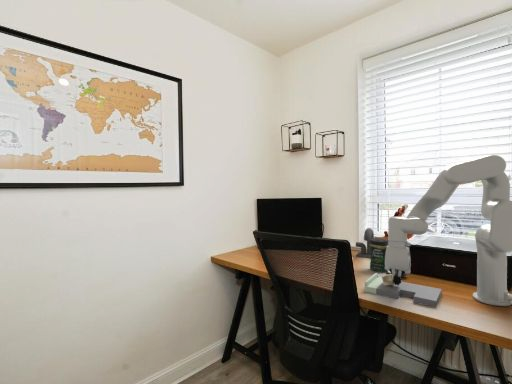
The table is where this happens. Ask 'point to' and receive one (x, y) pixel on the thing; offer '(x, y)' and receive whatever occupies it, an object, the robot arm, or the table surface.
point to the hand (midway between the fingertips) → (397, 284)
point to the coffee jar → (378, 254)
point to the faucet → (367, 237)
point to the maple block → (388, 279)
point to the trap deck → (404, 291)
